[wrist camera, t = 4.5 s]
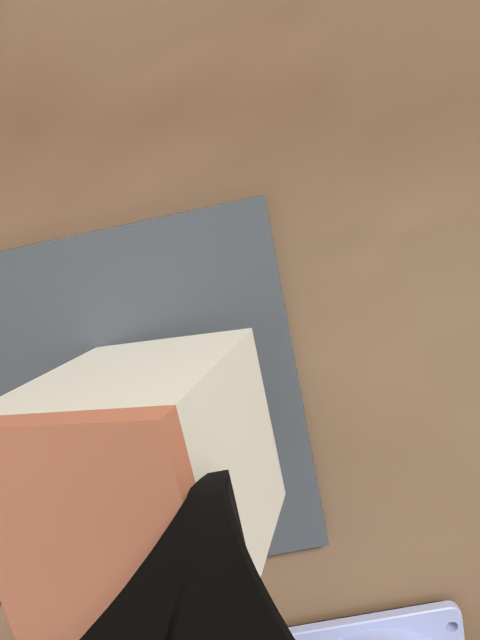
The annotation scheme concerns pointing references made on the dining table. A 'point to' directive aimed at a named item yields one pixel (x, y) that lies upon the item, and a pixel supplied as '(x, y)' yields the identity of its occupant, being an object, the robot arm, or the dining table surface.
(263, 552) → the cube
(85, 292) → the mat
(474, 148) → the dining table surface
